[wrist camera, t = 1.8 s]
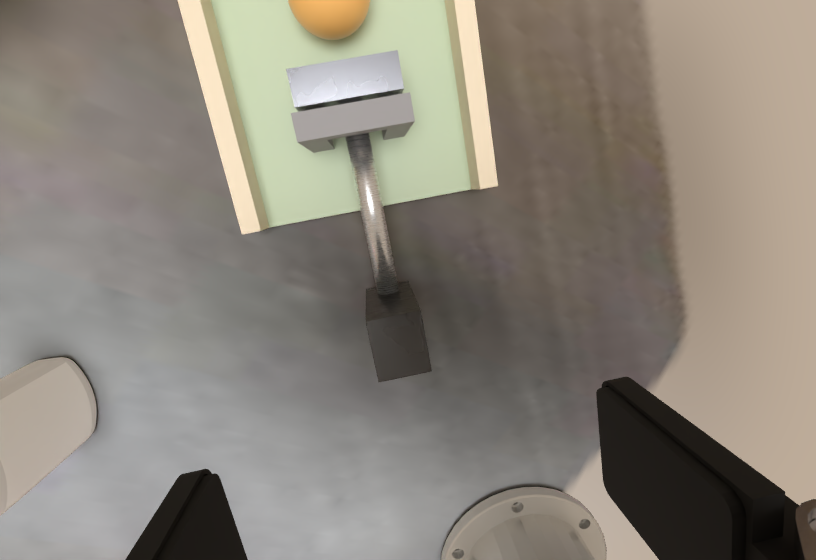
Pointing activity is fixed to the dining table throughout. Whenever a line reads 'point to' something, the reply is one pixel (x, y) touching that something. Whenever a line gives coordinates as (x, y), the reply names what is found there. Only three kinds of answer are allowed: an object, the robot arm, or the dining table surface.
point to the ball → (330, 16)
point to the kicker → (371, 207)
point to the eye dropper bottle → (41, 423)
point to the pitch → (341, 107)
